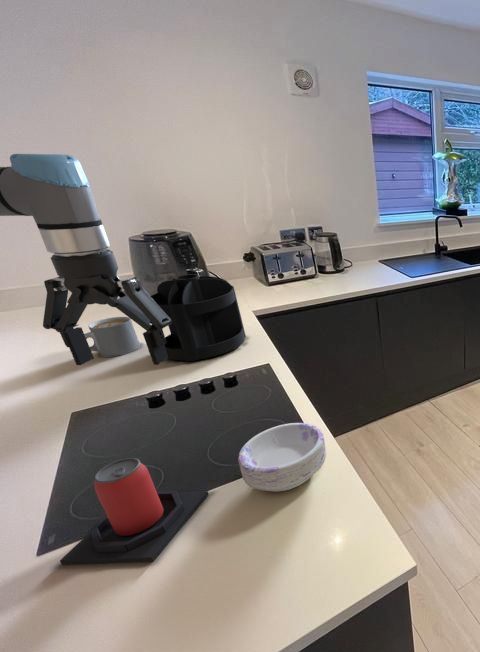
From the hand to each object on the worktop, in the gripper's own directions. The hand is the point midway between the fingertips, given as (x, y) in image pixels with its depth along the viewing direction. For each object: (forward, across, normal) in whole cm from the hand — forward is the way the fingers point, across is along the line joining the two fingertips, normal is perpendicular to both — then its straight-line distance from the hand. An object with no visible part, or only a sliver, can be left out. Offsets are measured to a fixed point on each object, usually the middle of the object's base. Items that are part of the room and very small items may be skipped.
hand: (123, 361), depth 76 cm
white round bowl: (+25, -28, +4) cm, 38 cm away
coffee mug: (+25, +54, -54) cm, 80 cm away
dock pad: (+25, -8, +16) cm, 30 cm away
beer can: (+24, -8, +16) cm, 30 cm away
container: (+25, +26, -57) cm, 67 cm away
